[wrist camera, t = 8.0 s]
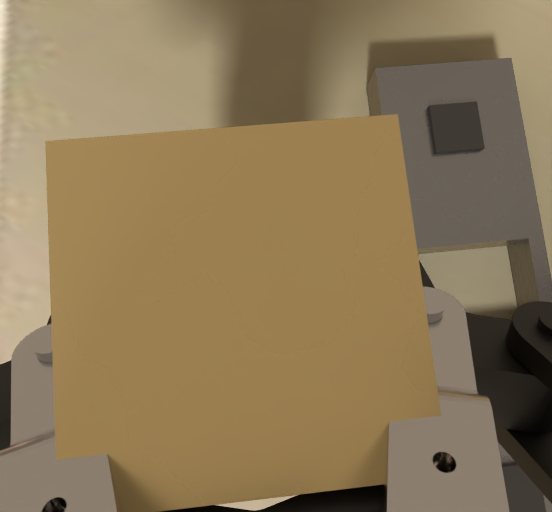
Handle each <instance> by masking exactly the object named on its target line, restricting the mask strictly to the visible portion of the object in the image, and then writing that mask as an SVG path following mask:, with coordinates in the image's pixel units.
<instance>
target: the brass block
mask: <svg viewBox="0 0 552 512" xmlns="http://www.w3.org/2000/svg"><path fill="white" fill-rule="evenodd" d="M45 142H46V172H47V203H48V233H49V264H50V294H51V325H52V355H53V386H54V416H55V447H56V460H59V459H68V458H76V457H85V456H94V455H102V454H107V455H108V459H109V462H110V466H111V470H112V473H113V477H114V481H115V484H116V488H117V492H118V495H119V499H120V502H121V506H122V510H123V512H160V511H168V510H176V509H185V508H193V507H201V506H209V505H218V504H226V503H234V502H242V501H250V500H259V499H267V498H275V497H283V496H292V495H300V494H308V493H316V492H324V491H333V490H341V489H349V488H357V487H366V486H374V485H382V484H384V480H385V467H386V455H387V443H388V431H389V422H390V421H399V420H408V419H417V418H425V417H434V416H441V410H440V403H439V396H438V389H437V382H436V375H435V369H434V362H433V355H432V348H431V341H430V334H429V327H428V320H427V313H426V306H425V299H424V292H423V285H422V279H421V272H420V265H419V258H418V251H417V244H416V237H415V230H414V223H413V216H412V209H411V202H410V195H409V189H408V182H407V175H406V168H405V161H404V154H403V147H402V140H401V133H400V126H399V119H398V114H393V115H380V116H367V117H354V118H341V119H328V120H315V121H302V122H289V123H276V124H263V125H250V126H237V127H224V128H211V129H198V130H185V131H172V132H159V133H146V134H133V135H120V136H107V137H94V138H81V139H68V140H55V141H45Z"/></svg>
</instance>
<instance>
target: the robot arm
mask: <svg viewBox="0 0 552 512" xmlns="http://www.w3.org/2000/svg"><path fill="white" fill-rule="evenodd" d="M419 265H420V272H421V279H422V285H423V292H424V299H425V306H426V313H427V320H428V327H429V334H430V341H431V348H432V355H433V362H434V369H435V375H436V382H437V389H438V396H439V403H440V410H441V416H434V417H425V418H417V419H408V420H399V421H390V422H389V431H388V443H387V455H386V467H385V480H384V484H382V485H374V486H366V487H357V488H349V489H341V490H333V491H324V492H316V493H308V494H300V495H297V496H295V497H292V498H290V499H287V500H285V501H282V502H280V503H277V504H275V505H272V506H270V507H267V508H265V509H262V510H257V511H251V510H244V509H237V508H230V507H223V506H216V505H209V506H201V507H193V508H185V509H176V510H168V511H160V512H509V506H508V500H507V494H506V488H505V482H504V476H503V470H502V464H501V459H500V453H499V447H498V442H499V444H500V445H501V446H502V447H503V448H504V449H505V450H506V452H507V453H508V454H509V455H510V456H511V457H512V459H513V460H514V461H515V462H516V463H517V464H518V466H519V467H520V468H521V469H522V470H523V471H524V472H525V474H526V475H527V476H528V477H529V478H530V479H531V481H532V482H533V483H534V484H535V485H536V486H537V487H538V489H539V490H540V491H541V492H542V493H543V494H544V496H545V497H546V498H547V499H548V500H549V501H550V502H551V504H552V302H545V301H535V302H529V303H525V304H523V305H521V306H519V307H518V308H517V309H516V310H515V312H514V314H513V317H512V320H508V319H501V318H493V317H486V316H479V315H474V314H470V313H467V312H465V310H464V308H463V306H462V304H461V303H460V302H459V301H458V300H457V299H456V298H455V297H453V296H452V295H450V294H448V293H446V292H444V291H442V290H439V289H436V288H435V287H434V286H433V284H432V282H431V280H430V279H429V277H428V275H427V273H426V271H425V270H424V268H423V266H422V264H421V263H420V261H419ZM0 512H123V510H122V506H121V502H120V499H119V495H118V492H117V488H116V484H115V481H114V477H113V473H112V470H111V466H110V462H109V459H108V455H107V454H102V455H94V456H85V457H76V458H68V459H59V460H56V447H55V416H54V386H53V355H52V325H51V316H50V318H49V321H48V323H47V325H46V326H43V327H41V328H39V329H37V330H35V331H33V332H32V333H30V334H29V335H28V336H26V337H25V338H24V339H23V340H22V341H21V342H20V343H19V344H18V345H17V347H16V348H15V350H14V352H13V355H12V360H11V361H9V362H6V363H3V364H1V365H0Z"/></svg>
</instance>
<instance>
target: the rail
mask: <svg viewBox="0 0 552 512" xmlns="http://www.w3.org/2000/svg"><path fill="white" fill-rule="evenodd" d="M366 88H367V95H368V103H369V110H370V116H380V115H393V114H398V119H399V126H400V133H401V140H402V147H403V154H404V161H405V168H406V175H407V182H408V189H409V195H410V202H411V209H412V216H413V223H414V230H415V237H416V244H417V251H418V254H421V253H432V252H442V251H452V250H463V249H473V248H484V247H494V246H504V245H507V246H508V252H509V258H510V264H511V269H512V275H513V281H514V287H515V293H516V299H517V305H518V307H519V306H521V305H523V304H525V303H529V302H535V301H545V302H552V280H551V274H550V269H549V263H548V257H547V252H546V246H545V241H544V235H543V230H542V224H541V219H540V213H539V208H538V202H537V197H536V191H535V186H534V180H533V175H532V169H531V164H530V158H529V153H528V147H527V142H526V136H525V131H524V125H523V120H522V114H521V109H520V103H519V98H518V92H517V87H516V81H515V75H514V70H513V64H512V59H511V58H503V59H489V60H476V61H463V62H449V63H436V64H422V65H409V66H395V67H382V68H375V70H374V72H373V74H372V76H371V79H370V81H369V83H368V85H367V87H366ZM498 447H499V453H500V459H501V464H502V470H503V476H504V482H505V488H506V494H507V500H508V506H509V512H552V504H551V502H550V501H549V500H548V499H547V498H546V497H545V496H544V494H543V493H542V492H541V491H540V490H539V489H538V487H537V486H536V485H535V484H534V483H533V482H532V481H531V479H530V478H529V477H528V476H527V475H526V474H525V472H524V471H523V470H522V469H521V468H520V467H519V466H518V464H517V463H516V462H515V461H514V460H513V459H512V457H511V456H510V455H509V454H508V453H507V452H506V450H505V449H504V448H503V447H502V446H501V445H500V444H499V442H498Z"/></svg>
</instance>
